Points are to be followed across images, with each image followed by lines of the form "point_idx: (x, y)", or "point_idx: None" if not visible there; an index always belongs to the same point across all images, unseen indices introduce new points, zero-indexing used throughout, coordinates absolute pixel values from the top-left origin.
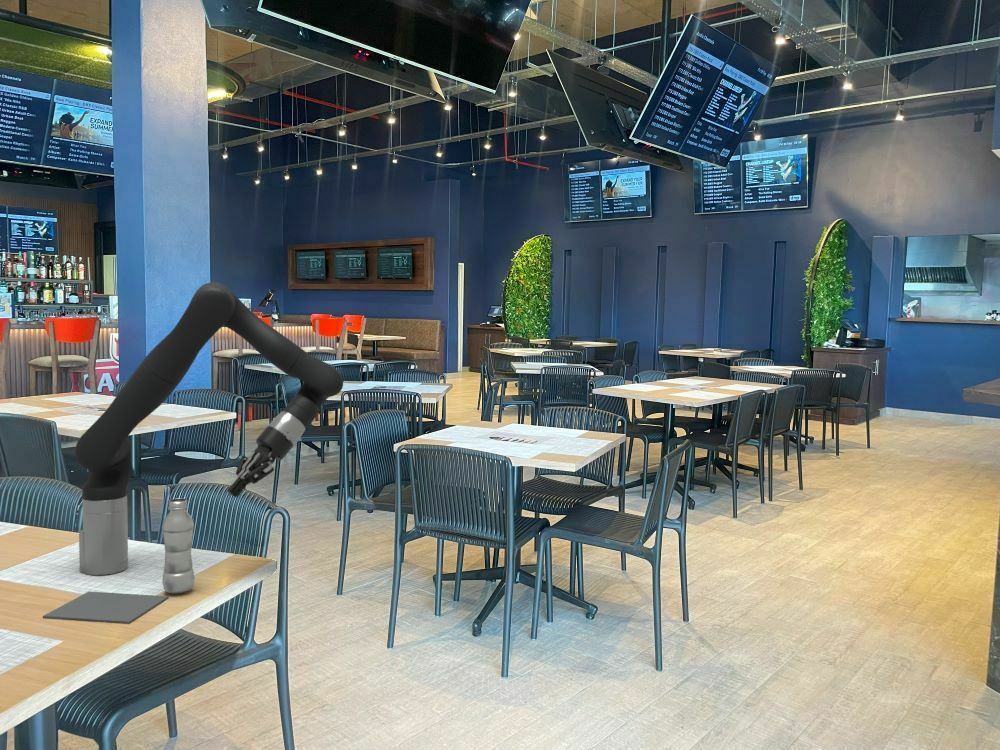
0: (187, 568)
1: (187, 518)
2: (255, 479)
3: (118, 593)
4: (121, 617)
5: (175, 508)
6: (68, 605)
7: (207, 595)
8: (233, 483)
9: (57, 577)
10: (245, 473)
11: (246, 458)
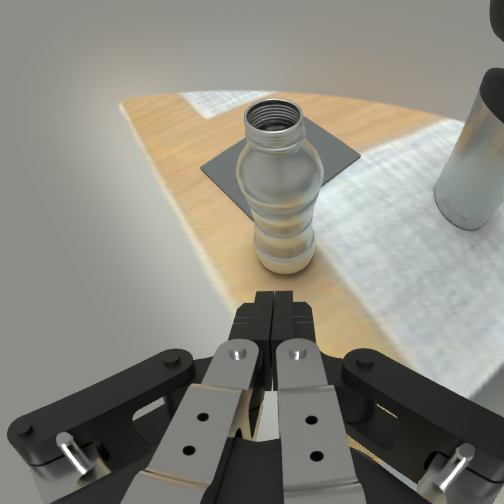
0: (256, 238)
1: (245, 168)
2: (167, 410)
3: (327, 178)
4: (222, 162)
5: (251, 120)
6: (314, 129)
7: (231, 286)
8: (287, 313)
9: (446, 151)
10: (223, 368)
11: (486, 474)
